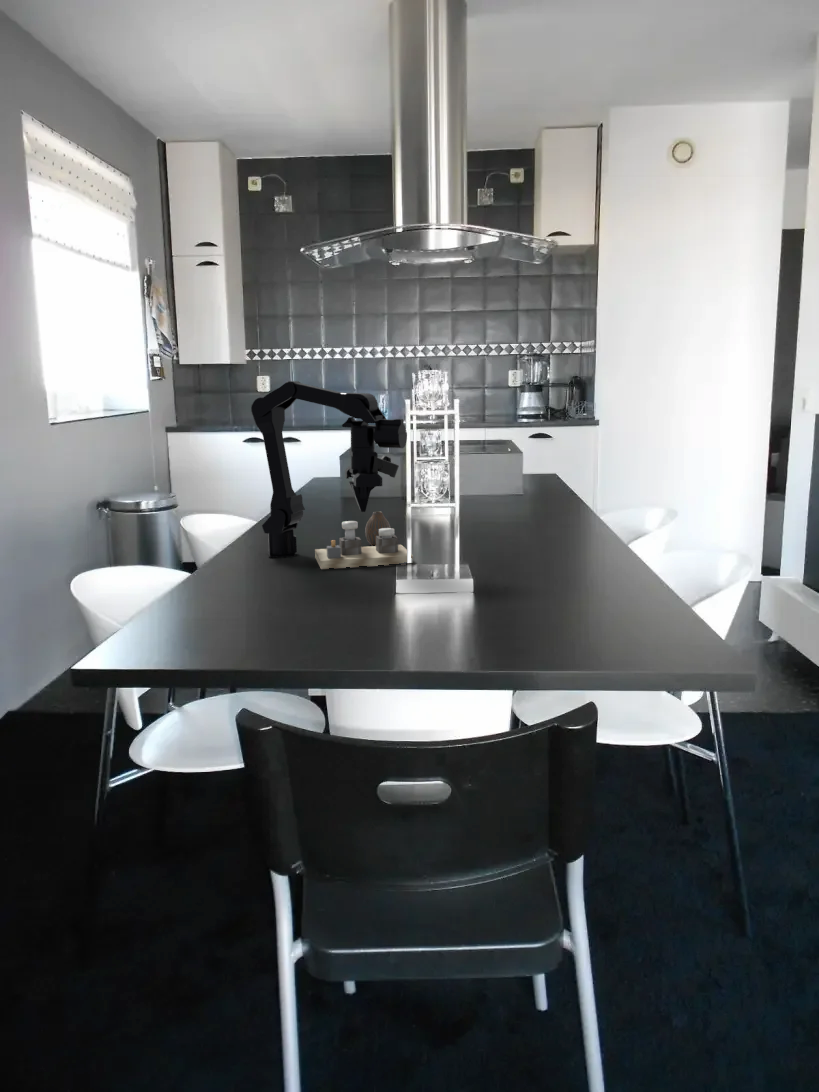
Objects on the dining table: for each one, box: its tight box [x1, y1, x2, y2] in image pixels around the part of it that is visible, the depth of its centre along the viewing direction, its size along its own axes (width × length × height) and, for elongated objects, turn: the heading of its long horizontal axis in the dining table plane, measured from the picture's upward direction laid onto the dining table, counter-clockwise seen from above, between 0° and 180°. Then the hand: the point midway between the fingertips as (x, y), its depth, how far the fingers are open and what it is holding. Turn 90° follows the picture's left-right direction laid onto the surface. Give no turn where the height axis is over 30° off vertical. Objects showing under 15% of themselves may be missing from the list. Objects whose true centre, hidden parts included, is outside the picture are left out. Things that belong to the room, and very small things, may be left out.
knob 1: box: [341, 520, 359, 540], centre depth 200 cm, size 4×4×5 cm
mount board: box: [314, 534, 414, 570], centre depth 201 cm, size 22×14×6 cm, turn 102°
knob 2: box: [379, 527, 395, 538], centre depth 202 cm, size 4×4×5 cm
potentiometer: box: [326, 539, 341, 559], centre depth 196 cm, size 3×3×4 cm
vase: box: [364, 511, 391, 546], centre depth 221 cm, size 7×7×9 cm
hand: (363, 511), depth 200 cm, fingers closed
